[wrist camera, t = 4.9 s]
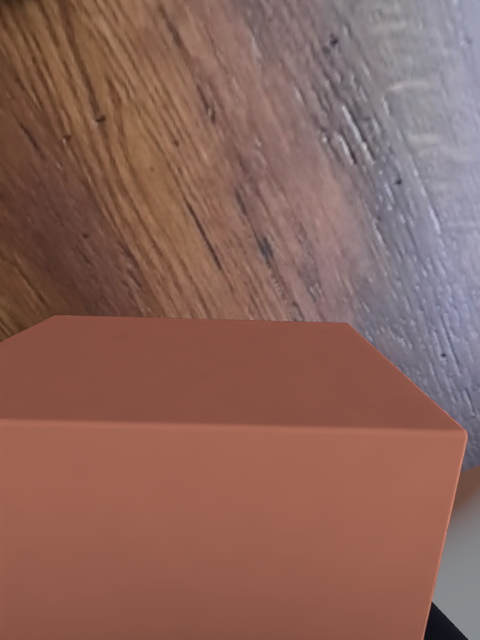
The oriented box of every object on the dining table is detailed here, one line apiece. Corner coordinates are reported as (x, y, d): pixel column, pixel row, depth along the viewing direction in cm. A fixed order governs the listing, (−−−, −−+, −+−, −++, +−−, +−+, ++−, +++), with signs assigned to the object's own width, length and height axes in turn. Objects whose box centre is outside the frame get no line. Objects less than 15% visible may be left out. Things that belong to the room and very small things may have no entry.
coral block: (53, 314, 7) (-160, 417, 3) (348, 321, 7) (472, 431, 3) (90, 638, 10) (-13, 920, 6) (312, 643, 10) (362, 925, 6)
